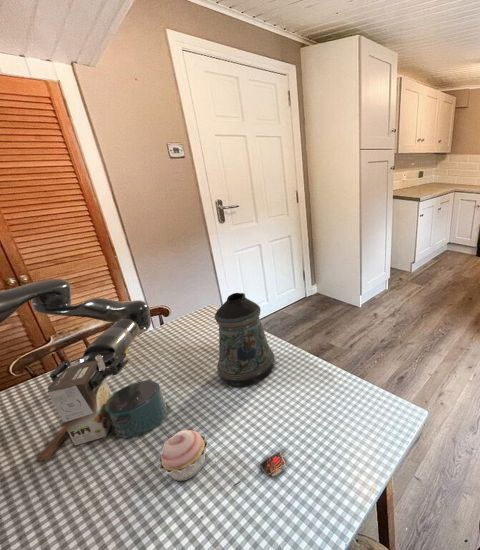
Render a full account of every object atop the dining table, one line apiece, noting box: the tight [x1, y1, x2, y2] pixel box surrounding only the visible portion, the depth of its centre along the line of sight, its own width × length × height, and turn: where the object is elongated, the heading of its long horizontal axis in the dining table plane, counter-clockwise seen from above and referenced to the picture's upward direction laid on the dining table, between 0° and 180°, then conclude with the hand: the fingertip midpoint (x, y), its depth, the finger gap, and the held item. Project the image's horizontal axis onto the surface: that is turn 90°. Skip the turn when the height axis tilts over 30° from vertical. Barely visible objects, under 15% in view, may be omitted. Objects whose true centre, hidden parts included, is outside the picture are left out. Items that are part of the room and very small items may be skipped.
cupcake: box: [157, 429, 209, 482], centre depth 64 cm, size 9×9×10 cm
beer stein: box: [214, 292, 275, 388], centre depth 91 cm, size 16×19×25 cm
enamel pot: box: [105, 379, 168, 439], centre depth 76 cm, size 11×14×8 cm
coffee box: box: [47, 361, 113, 446], centre depth 72 cm, size 9×6×16 cm
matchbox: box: [260, 451, 286, 477], centre depth 66 cm, size 5×5×1 cm
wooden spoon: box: [37, 424, 69, 462], centre depth 74 cm, size 5×15×1 cm, turn 13°
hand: (71, 388), depth 68 cm, fingers closed on coffee box, 7 cm apart
